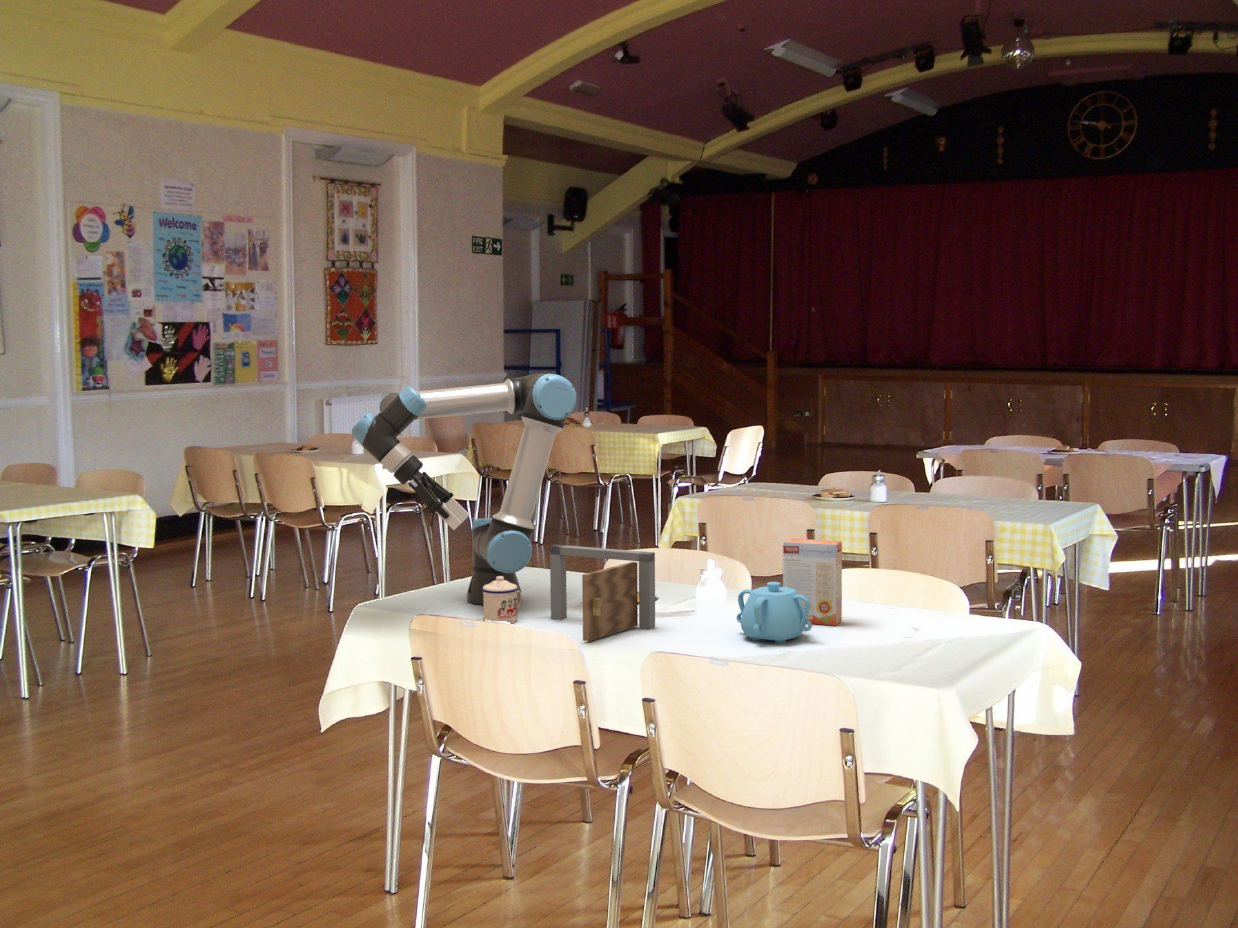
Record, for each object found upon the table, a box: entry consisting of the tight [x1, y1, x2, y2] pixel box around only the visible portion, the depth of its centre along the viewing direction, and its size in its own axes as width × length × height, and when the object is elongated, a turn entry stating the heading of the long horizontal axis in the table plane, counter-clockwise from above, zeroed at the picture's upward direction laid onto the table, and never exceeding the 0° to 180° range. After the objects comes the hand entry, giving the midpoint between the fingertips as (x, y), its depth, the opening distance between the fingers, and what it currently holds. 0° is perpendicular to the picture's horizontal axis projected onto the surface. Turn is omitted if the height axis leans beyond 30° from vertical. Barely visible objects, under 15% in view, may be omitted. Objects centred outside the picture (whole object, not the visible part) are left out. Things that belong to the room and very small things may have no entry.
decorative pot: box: [736, 581, 813, 644], centre depth 309 cm, size 16×16×14 cm
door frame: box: [549, 544, 656, 631], centre depth 325 cm, size 3×28×19 cm, turn 63°
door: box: [581, 561, 639, 642], centre depth 312 cm, size 20×3×16 cm, turn 143°
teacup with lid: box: [482, 576, 523, 624], centre depth 330 cm, size 12×9×12 cm
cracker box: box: [782, 538, 843, 627], centre depth 325 cm, size 14×6×21 cm, turn 65°
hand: (462, 522), depth 328 cm, fingers open, 13 cm apart
